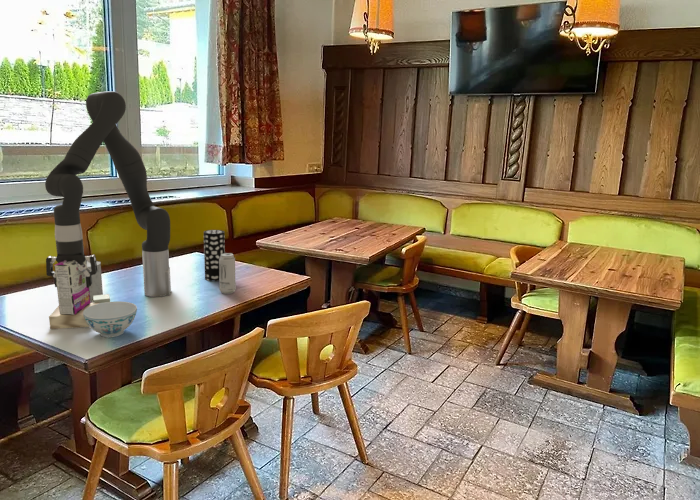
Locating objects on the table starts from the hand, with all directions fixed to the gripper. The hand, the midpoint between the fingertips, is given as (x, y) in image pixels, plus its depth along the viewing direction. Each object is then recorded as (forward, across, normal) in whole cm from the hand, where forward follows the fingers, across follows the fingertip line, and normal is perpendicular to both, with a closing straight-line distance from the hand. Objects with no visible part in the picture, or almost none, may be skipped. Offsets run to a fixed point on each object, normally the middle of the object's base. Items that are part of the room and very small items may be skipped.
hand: (73, 287), depth 169 cm
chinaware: (+12, -13, +12) cm, 21 cm away
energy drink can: (+12, -48, -25) cm, 55 cm away
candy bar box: (+8, 0, 0) cm, 8 cm away
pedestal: (+11, 0, 0) cm, 11 cm away
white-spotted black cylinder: (+12, -43, -44) cm, 62 cm away
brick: (+12, -6, -9) cm, 16 cm away
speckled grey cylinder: (+12, +2, -26) cm, 29 cm away
